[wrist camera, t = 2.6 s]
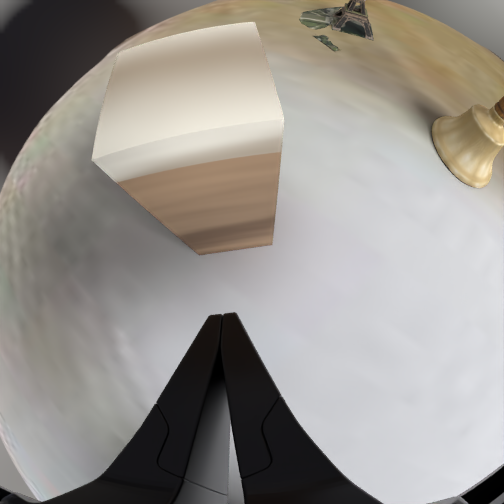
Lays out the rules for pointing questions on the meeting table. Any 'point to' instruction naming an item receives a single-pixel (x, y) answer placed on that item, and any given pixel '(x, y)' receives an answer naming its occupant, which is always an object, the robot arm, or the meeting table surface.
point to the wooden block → (197, 135)
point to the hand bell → (471, 142)
